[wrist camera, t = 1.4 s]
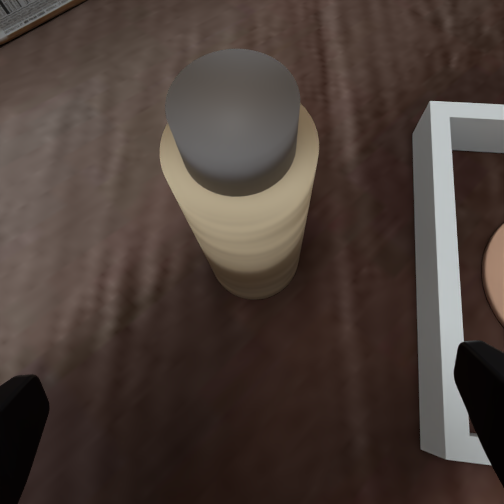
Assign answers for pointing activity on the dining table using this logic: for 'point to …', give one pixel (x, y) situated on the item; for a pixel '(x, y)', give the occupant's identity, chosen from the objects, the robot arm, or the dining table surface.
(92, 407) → the dining table surface
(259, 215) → the pepper mill
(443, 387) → the white square frame
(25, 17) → the tin
